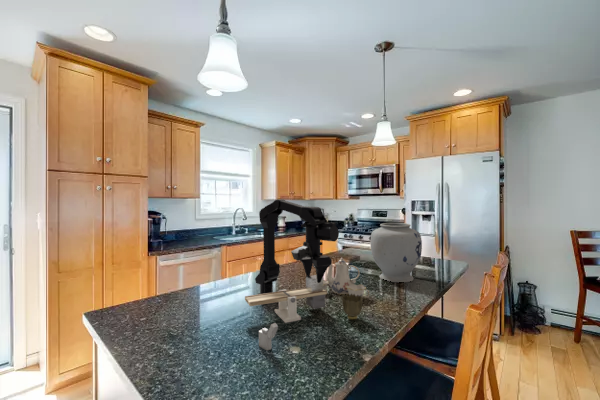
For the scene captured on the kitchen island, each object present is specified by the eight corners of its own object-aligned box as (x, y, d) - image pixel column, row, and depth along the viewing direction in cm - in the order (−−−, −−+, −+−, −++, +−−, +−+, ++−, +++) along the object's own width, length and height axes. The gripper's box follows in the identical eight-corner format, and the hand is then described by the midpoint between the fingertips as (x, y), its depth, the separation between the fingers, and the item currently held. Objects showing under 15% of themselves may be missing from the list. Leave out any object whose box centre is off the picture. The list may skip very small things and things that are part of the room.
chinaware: (305, 298, 130) (303, 263, 129) (317, 285, 146) (316, 253, 144) (367, 307, 119) (366, 268, 118) (373, 291, 135) (372, 256, 133)
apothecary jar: (431, 285, 143) (430, 225, 144) (377, 285, 144) (377, 225, 144) (411, 272, 170) (410, 221, 170) (366, 272, 171) (365, 222, 171)
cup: (363, 324, 99) (362, 300, 99) (341, 322, 100) (341, 299, 100) (362, 315, 106) (362, 294, 106) (342, 314, 107) (342, 292, 108)
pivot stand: (274, 311, 111) (274, 290, 111) (288, 309, 113) (288, 288, 113) (285, 323, 100) (285, 299, 100) (301, 320, 103) (300, 296, 103)
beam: (245, 313, 104) (244, 296, 104) (318, 301, 116) (318, 285, 116) (250, 321, 97) (250, 302, 97) (327, 307, 110) (327, 290, 110)
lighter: (258, 345, 84) (258, 318, 85) (263, 343, 86) (263, 316, 86) (273, 354, 79) (273, 325, 80) (278, 352, 81) (278, 323, 81)
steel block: (305, 289, 113) (305, 276, 113) (317, 287, 115) (317, 274, 115) (311, 292, 108) (311, 279, 108) (323, 290, 110) (323, 277, 110)
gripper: (284, 237, 117) (285, 276, 116) (304, 243, 100) (304, 288, 99) (309, 236, 121) (309, 273, 121) (332, 241, 104) (332, 284, 104)
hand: (313, 279), depth 111 cm, fingers open, 9 cm apart
